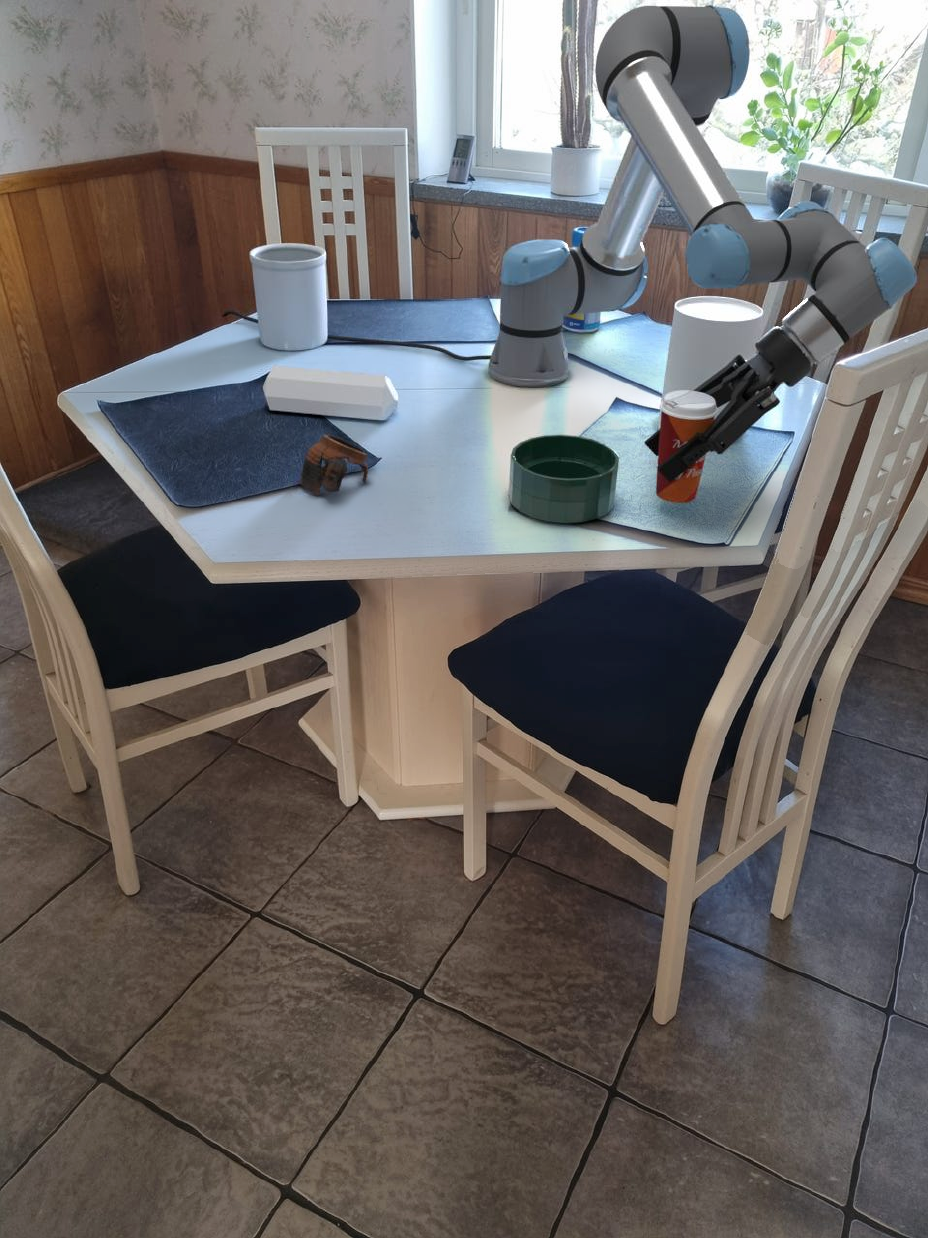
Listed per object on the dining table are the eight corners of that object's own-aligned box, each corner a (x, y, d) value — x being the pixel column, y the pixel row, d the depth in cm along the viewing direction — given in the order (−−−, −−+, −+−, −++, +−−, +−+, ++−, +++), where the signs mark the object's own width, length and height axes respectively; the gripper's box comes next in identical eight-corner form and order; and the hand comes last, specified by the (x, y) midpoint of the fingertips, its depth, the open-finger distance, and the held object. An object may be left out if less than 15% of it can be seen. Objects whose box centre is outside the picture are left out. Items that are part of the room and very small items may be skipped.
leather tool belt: (293, 477, 141) (314, 426, 139) (351, 500, 144) (372, 451, 142) (297, 493, 130) (319, 438, 128) (360, 518, 133) (382, 464, 131)
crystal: (406, 383, 162) (275, 372, 166) (396, 375, 155) (259, 363, 159) (401, 426, 163) (271, 414, 166) (392, 420, 155) (255, 407, 159)
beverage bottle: (602, 334, 199) (612, 234, 188) (562, 333, 199) (570, 233, 188) (598, 321, 206) (607, 225, 195) (560, 321, 206) (567, 224, 195)
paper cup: (670, 511, 127) (685, 413, 119) (637, 488, 133) (649, 394, 125) (715, 499, 130) (732, 403, 122) (681, 478, 136) (695, 385, 128)
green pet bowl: (491, 510, 132) (493, 464, 128) (534, 470, 143) (537, 427, 139) (591, 535, 126) (595, 488, 122) (628, 492, 137) (633, 447, 133)
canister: (688, 450, 150) (708, 325, 139) (642, 419, 160) (658, 301, 149) (756, 437, 154) (781, 315, 143) (708, 408, 165) (727, 292, 153)
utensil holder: (346, 337, 195) (341, 249, 185) (298, 357, 184) (291, 264, 174) (292, 325, 201) (284, 239, 191) (243, 343, 191) (232, 253, 181)
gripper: (842, 394, 113) (690, 513, 122) (786, 340, 130) (657, 448, 139) (808, 351, 110) (655, 477, 119) (756, 302, 127) (625, 415, 136)
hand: (656, 461), depth 129 cm, fingers closed on paper cup, 8 cm apart
